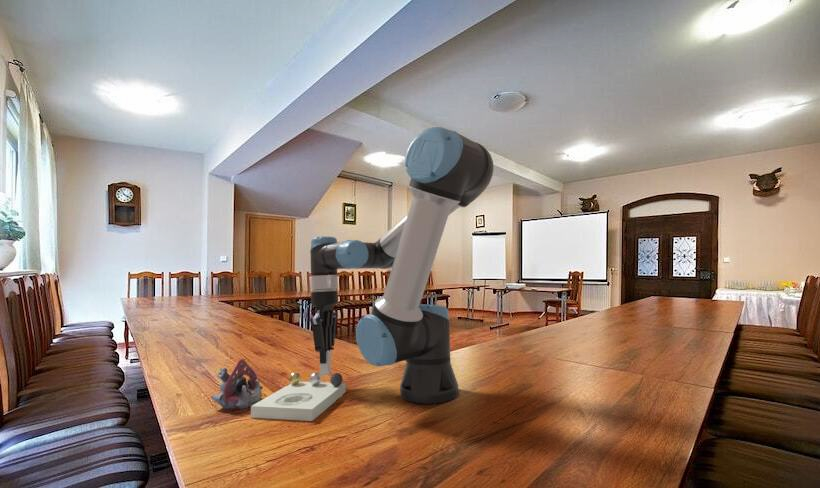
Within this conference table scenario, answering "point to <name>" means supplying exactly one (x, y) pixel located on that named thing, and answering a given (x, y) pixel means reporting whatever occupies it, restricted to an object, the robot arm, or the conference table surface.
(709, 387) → the conference table surface
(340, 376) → the dark grey ball
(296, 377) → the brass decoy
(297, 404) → the board
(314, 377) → the steel ball
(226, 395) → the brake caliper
